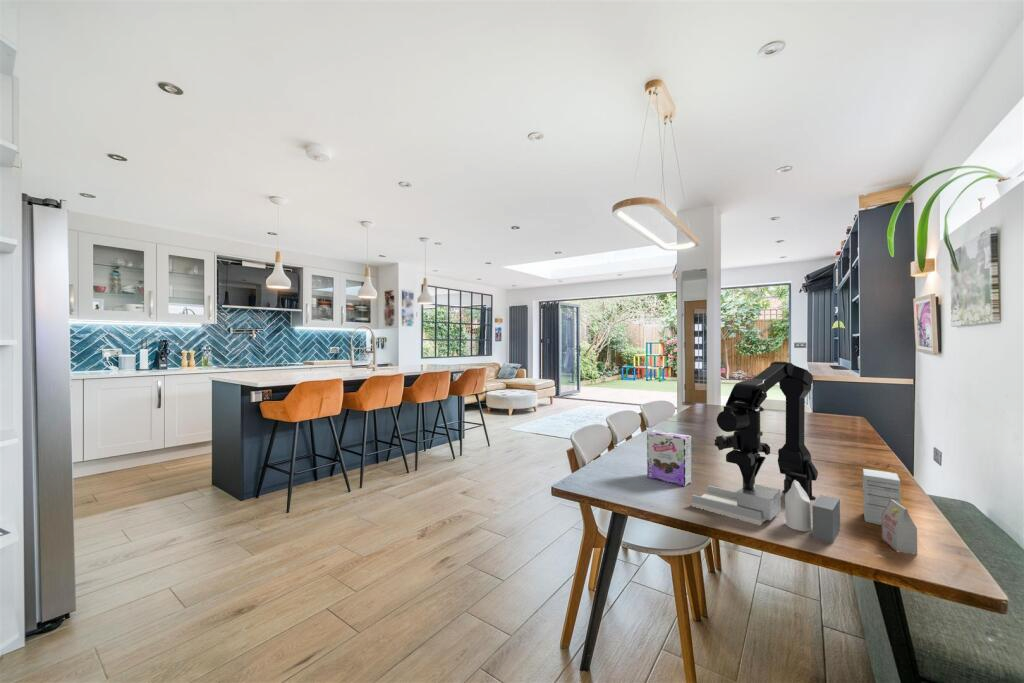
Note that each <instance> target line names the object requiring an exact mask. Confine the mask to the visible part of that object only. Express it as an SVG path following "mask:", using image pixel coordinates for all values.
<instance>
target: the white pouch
mask: <svg viewBox="0 0 1024 683" xmlns="http://www.w3.org/2000/svg"><path fill="white" fill-rule="evenodd" d="M811 511H812V508H811V499H809V497H808V495H807V493H806V492H805V491H804V489H803V488H802V487H801V485H800V484H799V482H798V481H796V480H794V481H793V482H792V485H791V488H790V489H789V491H788V492H787V493H786V494H785V495H784V513H785V514H784V515H785V525H786V526H787V527H788V528H790V529H792V530H795V531H800V532H809V531H811V530H812V512H811Z"/></svg>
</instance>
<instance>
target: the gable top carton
mask: <svg viewBox="0 0 1024 683" xmlns="http://www.w3.org/2000/svg"><path fill="white" fill-rule="evenodd" d="M881 540H882V541H884V542H885V541H886V542H887V543H888V544H889V545H890V546H889V545H888V544H887V543H886V542H885V543H886V544H887V545H888V546H889V547H890V548H892V547H893V548H894V549H895V550H896V551H899V552H898V553H900V552H906V553H905V554H908V553H914V554H913V555H916V554H917V555H918V527H917V526H916V525H915V523H914V521H913V520H912V518H911V516H910V514H909V512H908V509H907V508H905V507H904V506H903V505H900V504H898V503H897V502H895V501H894V500H891V499H889V503H888V505H887V507H886V508H885V510H884V512H883V513H882V525H881ZM893 548H892V549H893ZM894 549H893V550H894ZM895 550H894V551H895ZM896 551H895V552H896Z"/></svg>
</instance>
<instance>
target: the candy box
mask: <svg viewBox="0 0 1024 683" xmlns="http://www.w3.org/2000/svg"><path fill="white" fill-rule="evenodd" d="M646 435H647V436H646V438H647V439H646V442H647V444H646V445H647V446H646V447H647V448H646V451H647V452H646V457H647V460H646V461H647V462H646V464H647V467H646V468H647V469H646V470H647V471H646V472H647V474H646V475H647V478H648V477H649V479H652V478H654V479H653V480H657V479H658V480H657V481H661V480H662V481H661V482H665V481H666V483H669V482H671V483H670V484H673V483H675V484H674V485H677V484H679V485H678V486H681V485H683V486H682V487H686V485H687V484H688V485H690V484H692V436H691V435H688V434H681V433H675V432H674V433H673V432H667V431H661V430H656V429H652V430H650V431H648V432H647V433H646ZM689 483H690V484H689ZM688 485H687V486H688Z"/></svg>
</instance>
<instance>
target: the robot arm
mask: <svg viewBox="0 0 1024 683" xmlns="http://www.w3.org/2000/svg"><path fill="white" fill-rule="evenodd" d="M813 382H814V377H813V374H812V373H811V372H809V370H808V369H806V368H803V367H799V366H797V365H795V364H793V363H792V362H790V361H772V362H771V363H770V365H769V366H768V367H766V368H765V369H764V370H762V371H761V372H760V373H758V374H757V375H756V376H754V377H753V378H750V379H746V380H741V381H739V382H736V383H735V384H734V386H733V387H732V389H731V391H730V394H729V396H728V399H727V401H726V403H725V406H723V411H722V410H721V411H720V412H719V413H718V414H717V417H716V424H717V426H718V428H719V429H721V430H722V432H726V433H731V432H733V434H730V435H726V436H725V435H723V434H721V435H717V436H715V439H714V446H715V447H717V449H718V451H723V450H725V449H730V448H732V450H730V451H729V452H727V453H726V454H725V462H726V463H729V464H730V463H731V464H736V465H737V466H738V467H739V470H740V471H739V472H740V473H741V476H742V481H743V480H744V483H745V484H746V485H750V482H751V480H752V477H753V475H754V472H755V478H756V477H757V475H758V473H759V471H760V469H761V468H762V465H763V464H764V462H765V460H766V456H761V454H760V453H764V455H767V456H769V455H770V454H771V446H770V445H769V444H768V443H765V442H761V437H762V436H763V435H764V434H763V431H761V412H764V411H765V408H763V406H761V404H763V402H765V400H766V398H768V394H767V392H768V391H769V390H770V389H772V387H774V386H775V385H777V384H778V383H779V389H780V391H781V392H782V393H783V395H784V396H785V442H784V444H783V446H782V447H781V448H778V450H777V453H778V457H777V464H778V468H779V469H778V470H779V473H780V474H782V475H784V476H785V477H784V478H785V479H784V480H783V490H782V489H781V490H782V493H783V494H785V495H786V493H787V492H788V491H789V489H790V488H791V485H792V482H793V481H794V480H796V481H798V482H799V484H800V485H801V487H802V488H803V489H804V491H805V492H806V493H807V495H808V497H809V499H810V500H817V498H816V496H814V495H813V481H817V479H818V476H819V475H818V474H819V472H818V470H817V468H816V466H815V465H814V463H813V462H812V456H811V455H812V454H811V452H810V451H809V449H808V448H807V447H806V444H805V418H806V417H805V416H806V415H805V411H806V410H805V407H806V406H805V402H806V401H805V398H806V397H807V395H809V393H810V392H811V390H812V384H813Z"/></svg>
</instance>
